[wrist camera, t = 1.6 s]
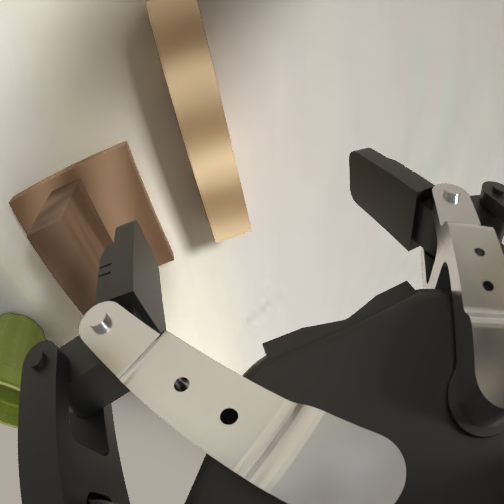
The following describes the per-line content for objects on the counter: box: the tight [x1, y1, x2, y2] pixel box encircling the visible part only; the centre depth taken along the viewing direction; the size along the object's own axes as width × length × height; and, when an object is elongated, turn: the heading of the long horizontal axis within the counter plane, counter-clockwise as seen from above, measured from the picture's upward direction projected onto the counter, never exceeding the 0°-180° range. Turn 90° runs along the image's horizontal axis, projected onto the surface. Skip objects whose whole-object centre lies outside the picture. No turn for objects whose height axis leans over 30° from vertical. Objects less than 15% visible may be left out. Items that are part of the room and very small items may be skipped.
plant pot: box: [0, 313, 45, 428], centre depth 25 cm, size 12×12×11 cm
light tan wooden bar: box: [146, 0, 252, 243], centre depth 22 cm, size 20×3×4 cm, turn 11°
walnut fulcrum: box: [9, 141, 174, 315], centre depth 22 cm, size 12×12×8 cm
